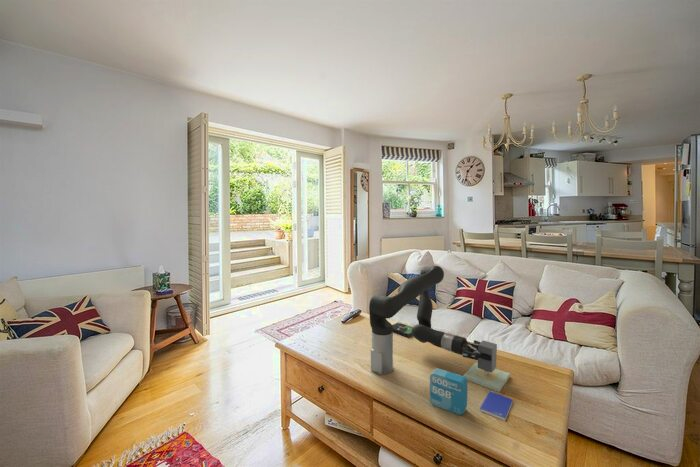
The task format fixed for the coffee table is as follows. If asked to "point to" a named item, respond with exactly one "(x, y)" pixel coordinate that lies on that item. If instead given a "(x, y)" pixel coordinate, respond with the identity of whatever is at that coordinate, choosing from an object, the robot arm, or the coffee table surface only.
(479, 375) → the pin board
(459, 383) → the data package
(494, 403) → the hard drive
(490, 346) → the block
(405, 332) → the disk drive
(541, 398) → the coffee table surface
